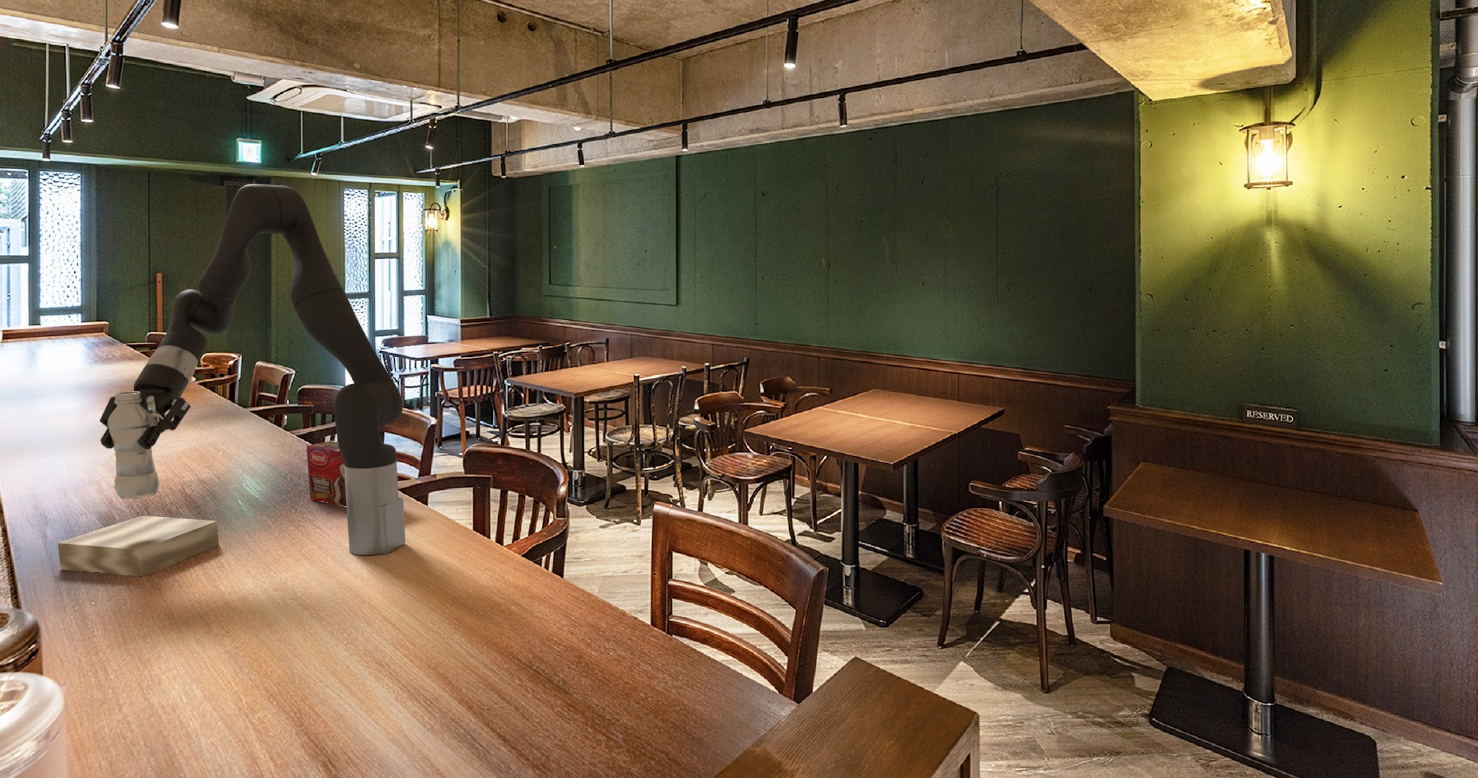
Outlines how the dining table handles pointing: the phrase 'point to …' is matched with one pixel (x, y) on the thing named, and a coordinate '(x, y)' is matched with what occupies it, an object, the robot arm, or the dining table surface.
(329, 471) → the ice cream box
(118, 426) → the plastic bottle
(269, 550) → the dining table surface
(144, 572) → the oak pedestal
